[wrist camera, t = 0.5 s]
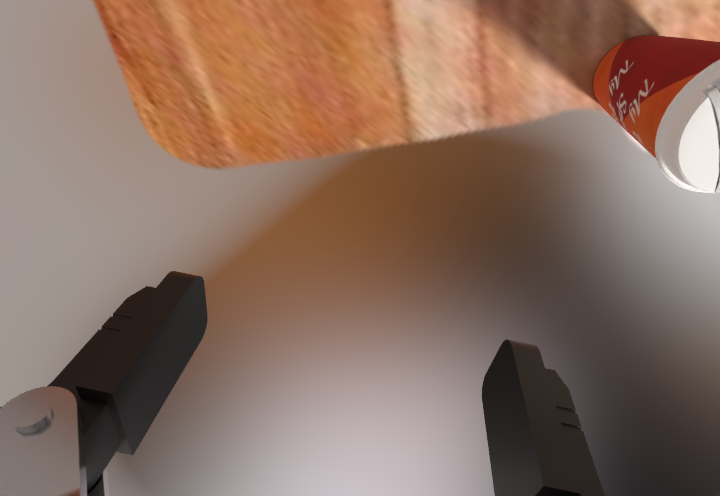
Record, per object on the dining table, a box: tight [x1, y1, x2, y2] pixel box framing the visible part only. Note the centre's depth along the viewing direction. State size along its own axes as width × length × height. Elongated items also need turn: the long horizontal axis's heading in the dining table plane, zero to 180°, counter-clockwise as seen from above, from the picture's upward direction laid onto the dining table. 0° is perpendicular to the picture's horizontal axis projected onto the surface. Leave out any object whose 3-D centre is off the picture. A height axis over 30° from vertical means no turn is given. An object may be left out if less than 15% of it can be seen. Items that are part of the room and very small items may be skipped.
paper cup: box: [593, 36, 720, 193], centre depth 26 cm, size 8×8×14 cm
